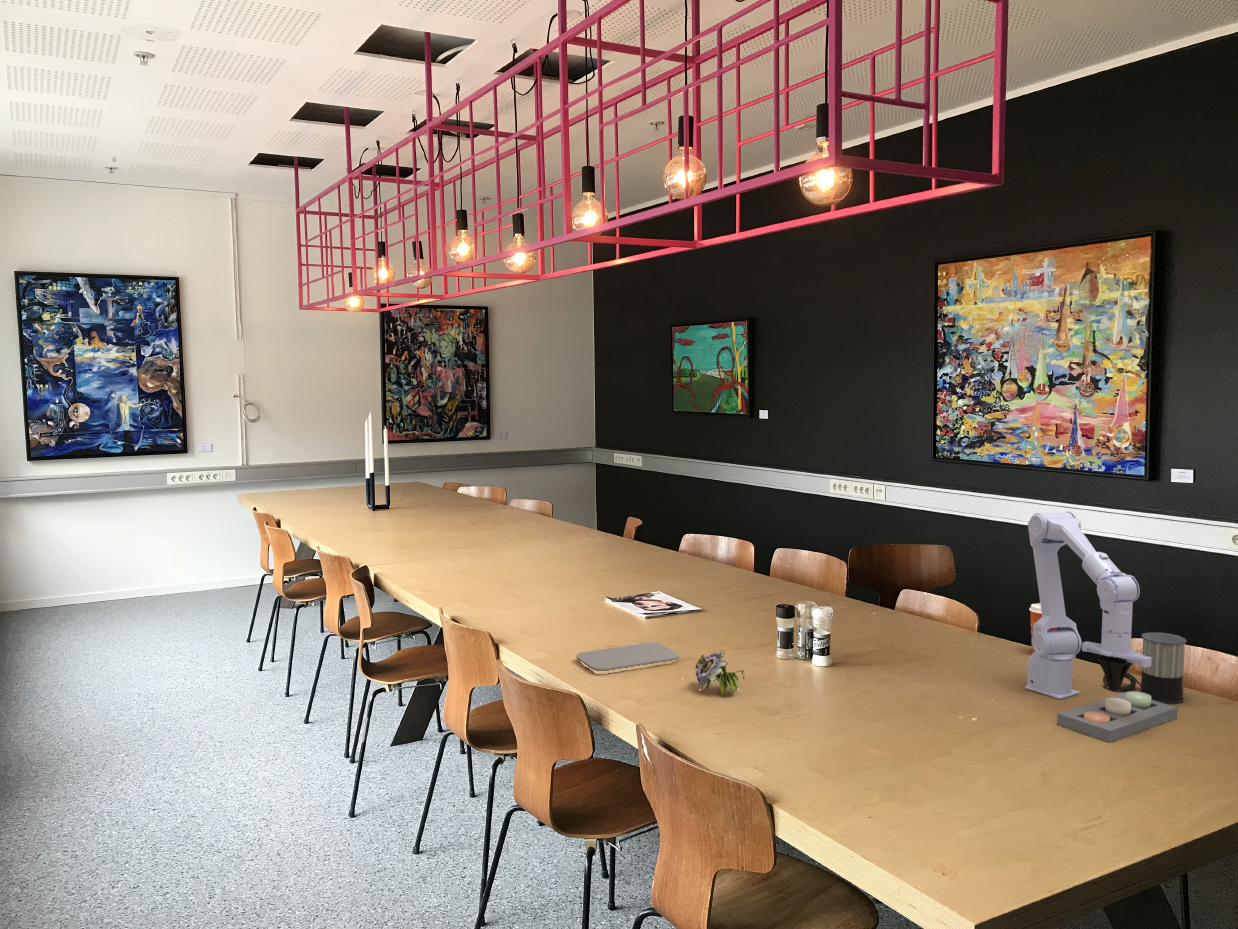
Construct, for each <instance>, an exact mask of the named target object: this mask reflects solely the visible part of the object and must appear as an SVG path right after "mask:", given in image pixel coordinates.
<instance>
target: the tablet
mask: <svg viewBox="0 0 1238 929" xmlns="http://www.w3.org/2000/svg"><path fill="white" fill-rule="evenodd" d="M577 658H578V659H579V660H580V661H581V662H583V663H584V664H585V665H587V666H588V667H589V668H591V669H593V670H596V671H609V670H615V669H621V668H628V667H634V666H640V665H647V664H653V663H659V662H666V661H672V660H676V661H677V660H678V659H679V658H680V655H679V653H678V652H675V651H674V650H672V649H670V648H668V647H666V646H664V645H663V644H661V643H658V642H643V643H636V644H630V645H623V646H616V647H610V648H609V647H608V648H602V649H596V650H595V649H594V650H590V651H589V650H588V651H582V652H579V653H577V654H576V659H577ZM578 659H577V660H578ZM579 660H578V661H579Z"/></svg>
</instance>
